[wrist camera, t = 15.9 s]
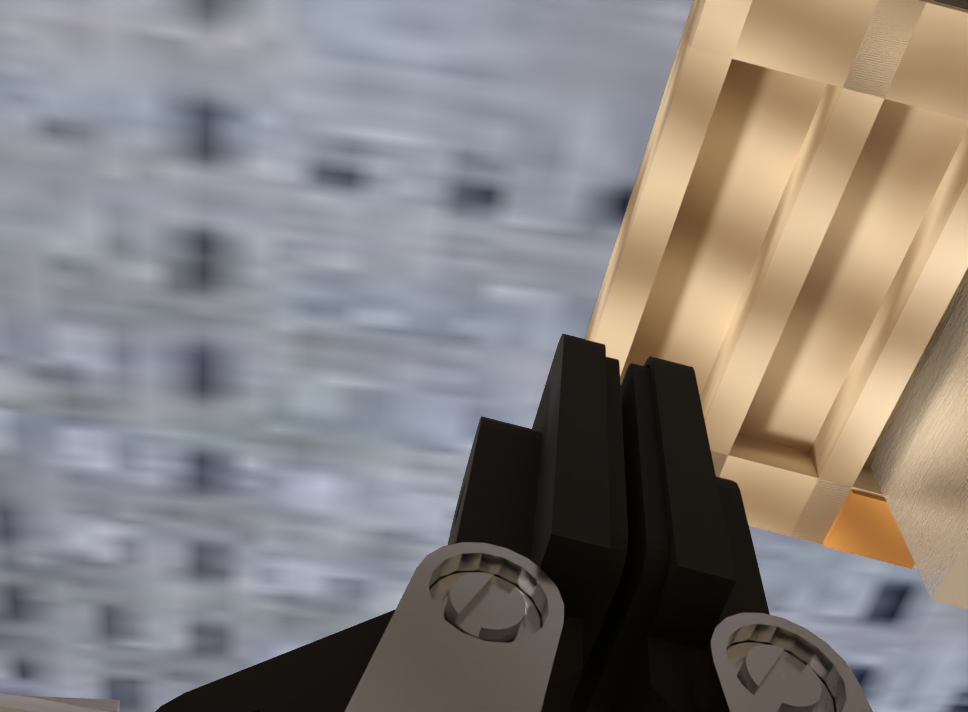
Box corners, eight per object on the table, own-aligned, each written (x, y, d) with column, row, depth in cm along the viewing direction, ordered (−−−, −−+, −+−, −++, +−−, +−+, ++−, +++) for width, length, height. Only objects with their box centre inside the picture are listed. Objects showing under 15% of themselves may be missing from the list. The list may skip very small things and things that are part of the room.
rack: (712, -58, 33) (723, -51, 30) (1192, 69, 34) (1248, 88, 31) (552, 438, 44) (549, 479, 41) (920, 532, 44) (942, 578, 41)
